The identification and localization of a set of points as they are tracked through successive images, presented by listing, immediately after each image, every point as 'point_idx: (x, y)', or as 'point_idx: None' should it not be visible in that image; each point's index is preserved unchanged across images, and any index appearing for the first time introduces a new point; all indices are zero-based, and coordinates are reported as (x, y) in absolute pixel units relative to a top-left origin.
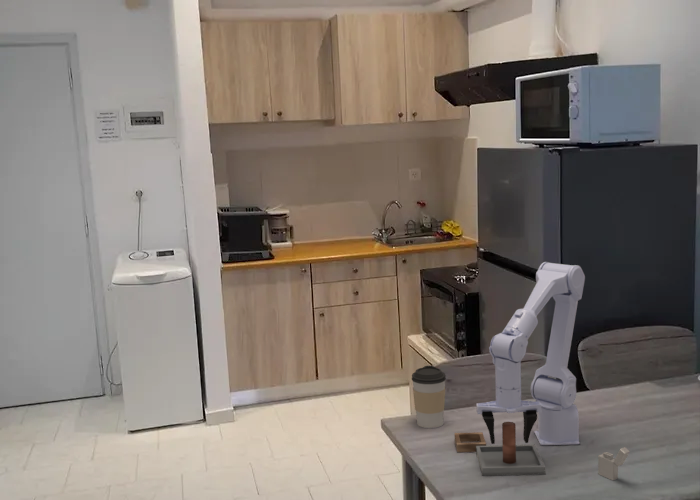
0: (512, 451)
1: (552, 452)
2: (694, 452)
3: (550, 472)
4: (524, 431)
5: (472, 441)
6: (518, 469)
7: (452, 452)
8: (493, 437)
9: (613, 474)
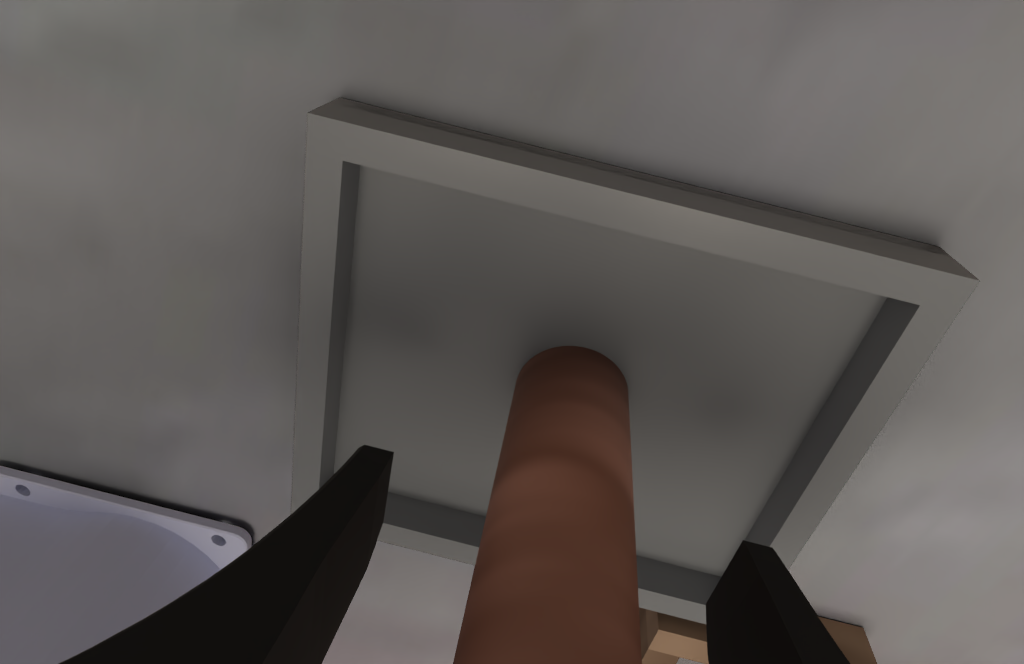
0: (557, 415)
1: (193, 429)
2: None
3: (282, 126)
4: (343, 591)
5: None
6: (591, 178)
7: (894, 637)
8: (789, 607)
9: None
